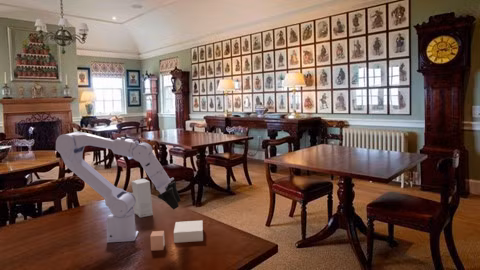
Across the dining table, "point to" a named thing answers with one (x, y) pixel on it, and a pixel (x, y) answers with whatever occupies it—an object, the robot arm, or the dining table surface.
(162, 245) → the terracotta block
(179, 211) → the dining table surface
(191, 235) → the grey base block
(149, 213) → the skincare box
